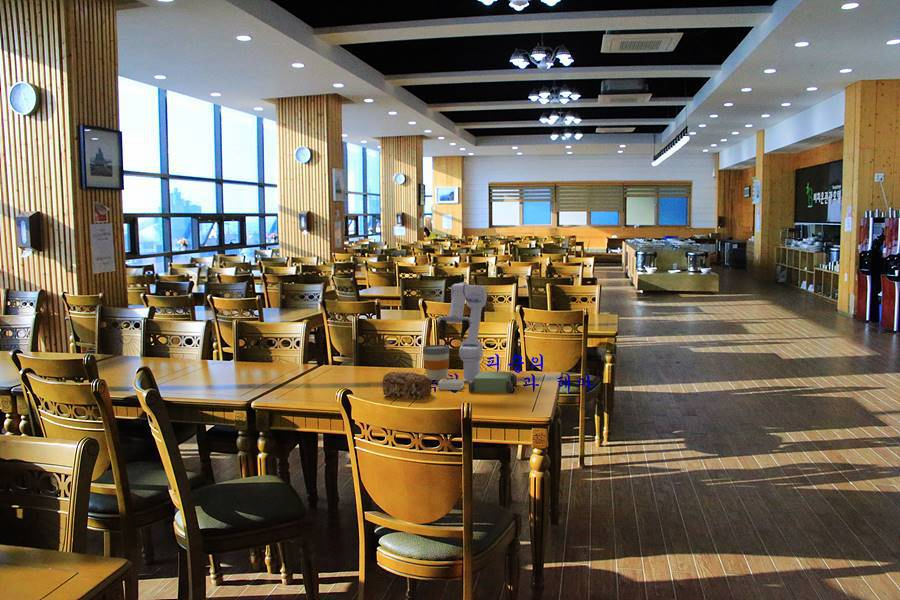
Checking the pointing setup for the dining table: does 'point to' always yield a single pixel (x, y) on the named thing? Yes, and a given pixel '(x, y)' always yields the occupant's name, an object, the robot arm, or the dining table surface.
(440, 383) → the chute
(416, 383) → the bread
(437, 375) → the reusable coffee cup
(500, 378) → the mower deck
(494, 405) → the dining table surface
